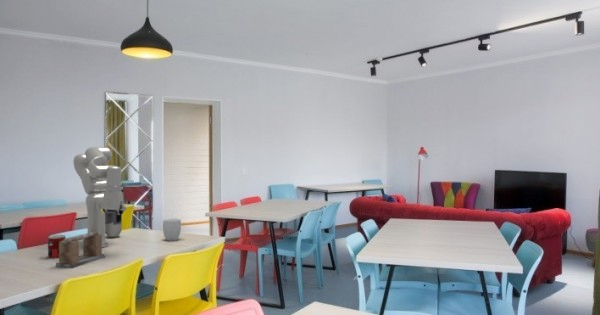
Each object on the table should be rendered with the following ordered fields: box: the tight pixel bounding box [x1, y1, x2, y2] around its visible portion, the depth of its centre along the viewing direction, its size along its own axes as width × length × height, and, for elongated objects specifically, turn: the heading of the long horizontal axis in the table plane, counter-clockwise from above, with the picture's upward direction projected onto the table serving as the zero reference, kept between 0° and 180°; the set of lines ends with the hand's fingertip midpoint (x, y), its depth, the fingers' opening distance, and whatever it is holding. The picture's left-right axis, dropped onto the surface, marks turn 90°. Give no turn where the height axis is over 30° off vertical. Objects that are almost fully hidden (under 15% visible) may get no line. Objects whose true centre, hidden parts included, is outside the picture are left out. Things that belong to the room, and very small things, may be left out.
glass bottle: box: [105, 214, 123, 238], centre depth 275 cm, size 10×10×28 cm
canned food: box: [47, 234, 66, 259], centre depth 223 cm, size 8×8×11 cm
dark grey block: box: [104, 210, 121, 225], centre depth 230 cm, size 6×5×7 cm
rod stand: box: [55, 231, 106, 269], centre depth 214 cm, size 10×22×14 cm, turn 166°
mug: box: [162, 217, 182, 242], centre depth 270 cm, size 15×11×13 cm
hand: (113, 221), depth 230 cm, fingers closed on dark grey block, 6 cm apart
